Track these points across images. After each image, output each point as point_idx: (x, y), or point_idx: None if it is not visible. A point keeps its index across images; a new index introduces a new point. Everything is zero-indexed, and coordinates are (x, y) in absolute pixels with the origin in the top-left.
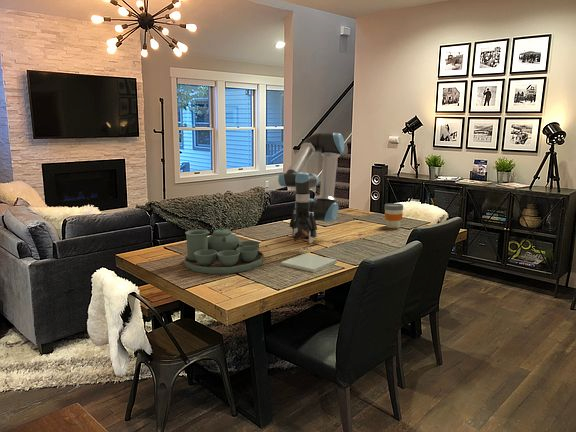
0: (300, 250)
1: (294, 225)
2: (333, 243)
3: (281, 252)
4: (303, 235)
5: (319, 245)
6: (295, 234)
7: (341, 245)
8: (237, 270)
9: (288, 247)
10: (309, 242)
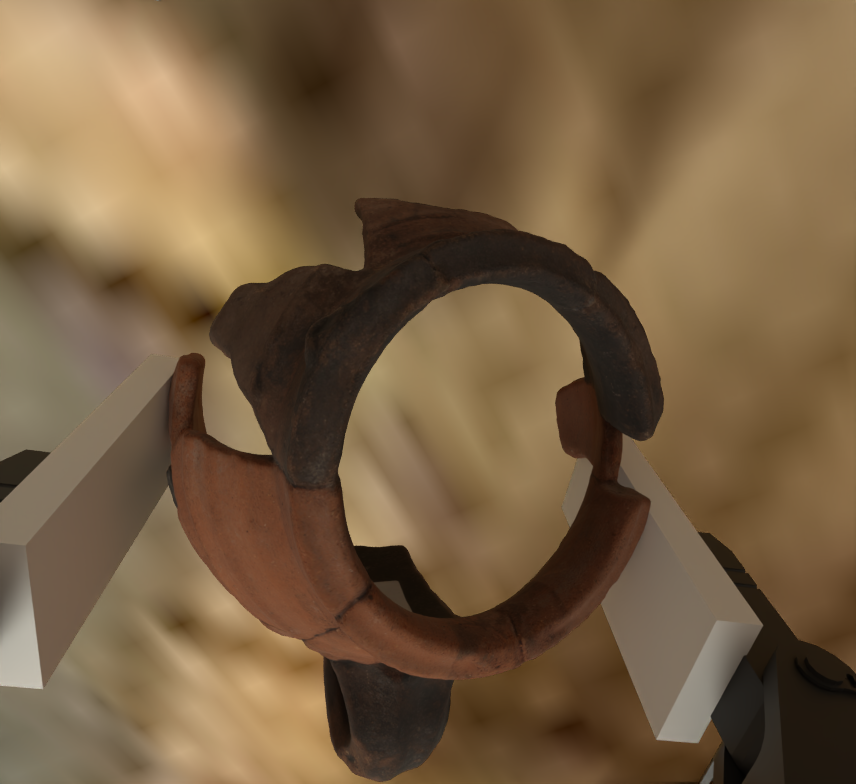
0: (437, 339)
1: (803, 759)
2: (214, 774)
3: (720, 49)
4: (237, 359)
5: (316, 658)
6: (613, 492)
7: (76, 749)
8: None
9: (693, 412)
10: (165, 361)
